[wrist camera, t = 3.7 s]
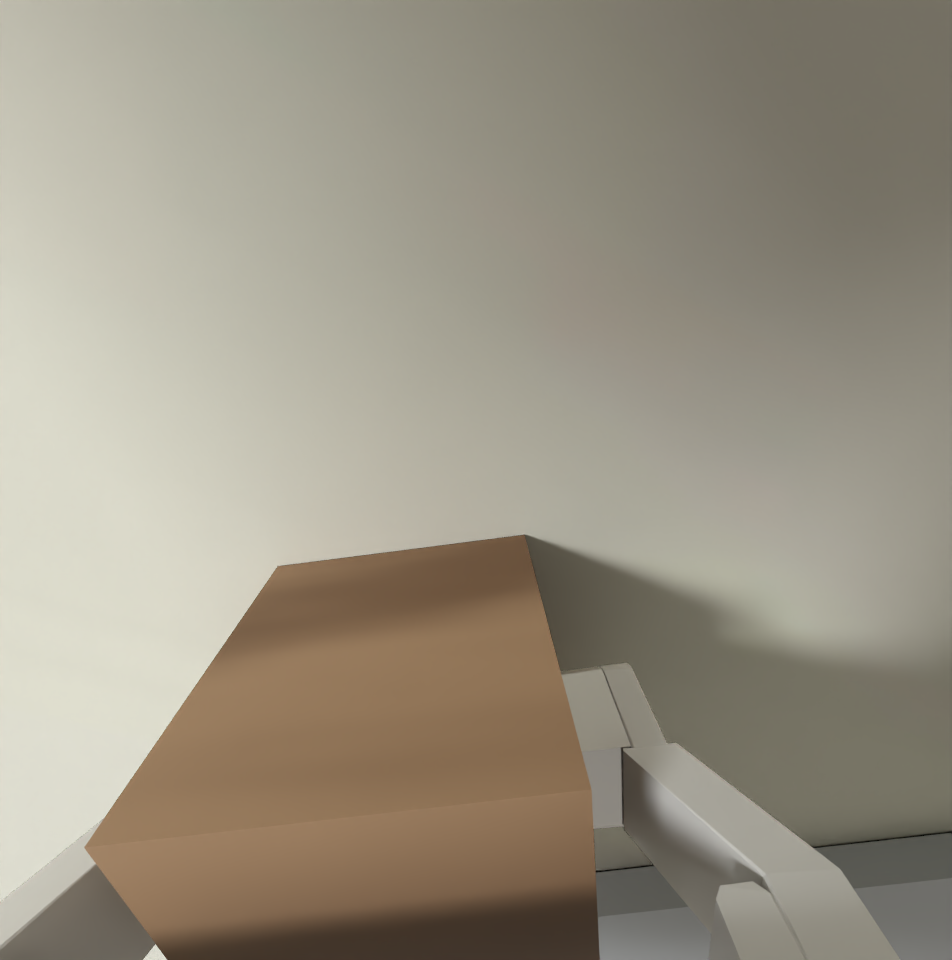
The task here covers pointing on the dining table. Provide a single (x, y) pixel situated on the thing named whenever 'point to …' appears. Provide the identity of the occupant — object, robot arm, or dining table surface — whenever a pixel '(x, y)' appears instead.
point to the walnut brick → (369, 776)
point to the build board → (867, 866)
